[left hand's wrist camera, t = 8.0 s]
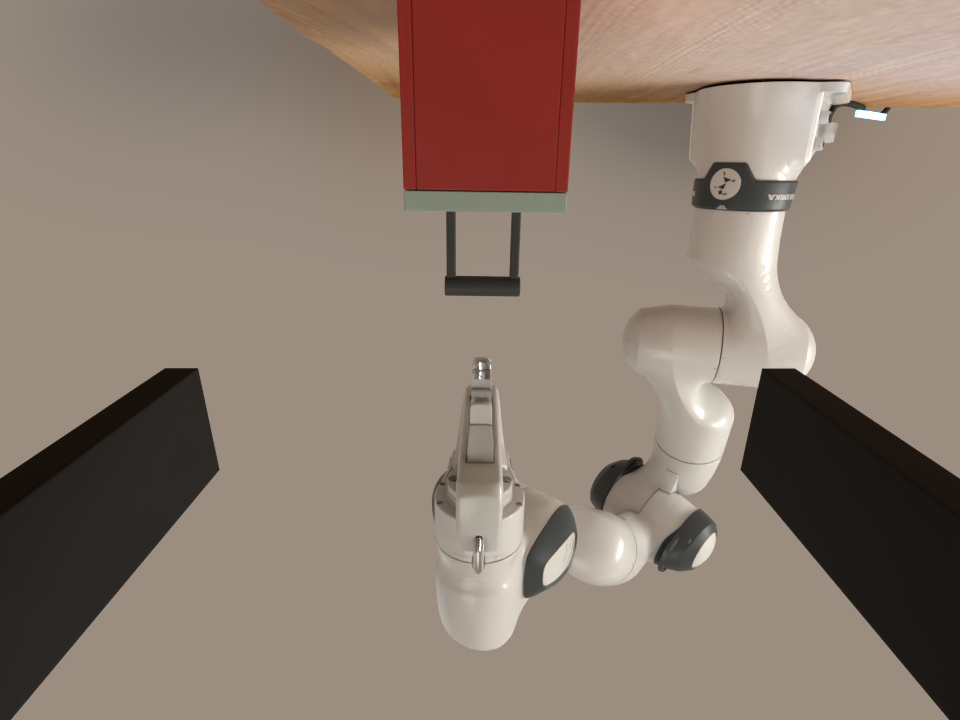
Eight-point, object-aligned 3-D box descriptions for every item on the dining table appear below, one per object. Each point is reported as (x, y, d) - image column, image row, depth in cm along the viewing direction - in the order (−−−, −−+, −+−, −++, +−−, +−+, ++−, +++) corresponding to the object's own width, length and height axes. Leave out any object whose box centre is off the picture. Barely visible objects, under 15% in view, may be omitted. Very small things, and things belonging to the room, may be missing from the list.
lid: (540, 184, 44) (535, 288, 47) (426, 182, 44) (428, 286, 47) (567, 193, 30) (557, 337, 34) (403, 190, 30) (408, 335, 34)
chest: (550, 31, 39) (542, 184, 43) (422, 29, 39) (425, 182, 43) (583, -31, 27) (567, 192, 30) (395, -34, 27) (403, 189, 30)
